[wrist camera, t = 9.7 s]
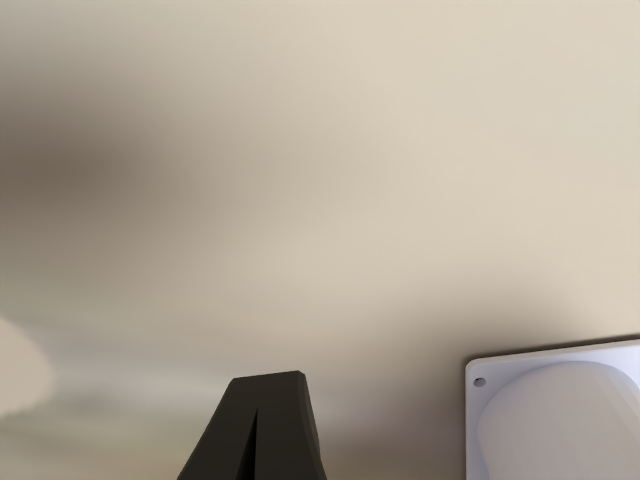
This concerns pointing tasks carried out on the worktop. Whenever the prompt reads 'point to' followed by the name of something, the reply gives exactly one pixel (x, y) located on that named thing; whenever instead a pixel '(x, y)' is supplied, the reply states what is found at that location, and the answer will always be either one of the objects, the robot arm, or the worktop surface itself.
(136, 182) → the worktop surface
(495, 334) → the worktop surface
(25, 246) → the worktop surface
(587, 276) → the worktop surface
